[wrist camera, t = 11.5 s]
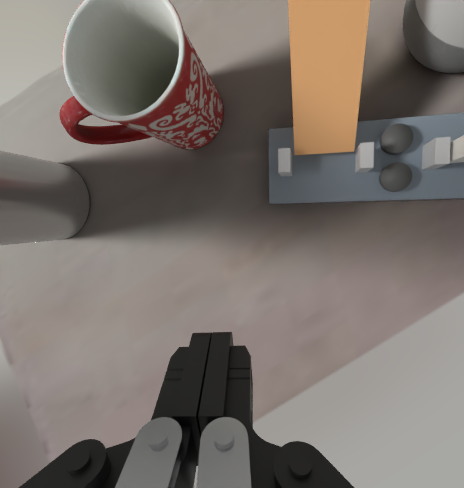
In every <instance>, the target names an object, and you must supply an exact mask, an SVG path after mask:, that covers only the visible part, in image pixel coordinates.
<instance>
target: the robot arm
mask: <svg viewBox="0 0 464 488" xmlns="http://www.w3.org/2000/svg"><path fill="white" fill-rule="evenodd" d="M88 212H89V194H88V190H87V187H86V184H85V183H84V181H83V179H82V177H81V176H80V175H79V174H78V173H77V172H76V171H75V170H74V169H72V168H71V167H69V166H67V165H64V164H60V163H55V162H51V161H46V160H41V159H37V158H32V157H28V156H23V155H18V154H13V153H8V152H4V151H0V245H8V244H19V243H30V242H42V241H52V240H62V239H66V238H69V237H71V236H73V235H75V234H76V233H77V232H78V231H79V230H80V229H81V228H82V226H83V225H84V224H85V221H86V219H87V217H88ZM196 466H198V477H197V488H354V487H353V486H352V485H351V484H350V483H349V482H348V481H347V480H346V479H345V478H344V477H343V476H342V475H341V474H340V472H338V471H337V469H336V468H335V467H334V466H333V465H332V464H331V463H330V462H329V461H328V460H327V459H326V458H325V457H324V456H323V455H322V454H321V453H320V452H319V451H318V450H317V449H316V448H315V447H313V446H312V445H310V444H308V443H305V442H299V441H296V442H289V443H287V444H285V445H284V446H282V447H279V446H276V445H274V444H271V443H268V442H266V441H264V440H263V439H261V438H260V437H259V436H258V435H257V434H256V433H255V431H254V430H253V382H252V369H251V356H250V354H249V352H248V350H247V348H246V347H245V346H233V337H232V332H213V333H193V334H192V337H191V341H190V345H189V347H179V348H178V349H177V351H176V352H175V353H174V354H173V355H172V357H171V359H170V362H169V365H168V368H167V371H166V375H165V378H164V381H163V384H162V387H161V391H160V394H159V397H158V400H157V403H156V407H155V410H154V413H153V416H152V419H151V421H150V422H148V423H147V424H145V425H144V426H143V427H142V428H141V429H140V431H139V432H138V434H137V436H136V438H134V439H132V440H130V441H128V442H125V443H122V444H119V445H116V446H113V447H109V448H106V449H105V447H104V445H103V444H102V443H101V442H100V441H98V440H95V439H88V440H83V441H81V442H78V443H76V444H74V445H73V446H71V447H70V448H69V449H67V450H66V451H65V452H64V453H62V454H61V455H60V456H59V457H57V458H56V459H55V460H53V461H52V462H51V463H50V464H48V465H47V466H46V467H45V468H43V469H42V470H41V471H39V472H38V473H37V474H36V475H34V476H33V477H32V478H31V479H29V480H28V481H27V482H26V483H24V484H23V485H22V486H20V487H19V488H194V479H195V472H196Z"/></svg>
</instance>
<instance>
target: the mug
mask: <svg viewBox="0 0 464 488" xmlns="http://www.w3.org/2000/svg"><path fill="white" fill-rule="evenodd" d="M62 50H63V51H62V60H63V69H64V73H65V78H66V80H67V83H68V86H69V88H70V90H71V92H72V93H73V95H74V96H73V97H71V98H70V99H69V100H67V101H66V102H65V103H64V105H63V106H62V107H61V110H60V120H61V123H62V124H63V126H64V128H65V129H66V131H67V132H68V134H69V135H70V136H71V137H73V138H74V139H76V140H78V141H80V142H84V143H89V144H101V145H103V144H116V143H124V142H131V141H136V140H142V139H146V138H150V137H155V138H157V139H160V140H162V141H164V142H167V143H170V144H172V145H174V146H176V147H179V148H182V149H197V148H200V147H203V146H205V145H206V144H208V143H209V142H210V141H211V140H213V139H214V137H215V136H216V135H217V133H218V132H219V130H220V127H221V125H222V122H223V116H224V109H223V103H222V100H221V97H220V95H219V93H218V91H217V89H216V87H215V86H214V84H213V82H212V80H211V79H210V77H209V75H208V73H207V71H206V70H205V68H204V66H203V64H202V62H201V60H200V58H199V57H198V55H197V53H196V51H195V49H194V48H193V46H192V44H191V42H190V40H189V38H188V37H187V35H186V33H185V32H184V30H183V27H182V23H181V20H180V17H179V15H178V13H177V11H176V9H175V7H174V6H173V5H172V3H171V2H170V0H84V1H83V2H82V3H81V4H80V5H79V7H78V8H77V10H76V11H75V13H74V14H73V16H72V18H71V20H70V22H69V24H68V27H67V30H66V32H65V37H64V42H63V49H62ZM90 115H95V116H97V117H98V118H101V119H104V120H107V121H111V122H118V123H120V124H123V125H113V126H101V127H97V126H84V125H80V124H78V123H79V121H81V120H83V119H84V118H86V117H87V116H90Z"/></svg>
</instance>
